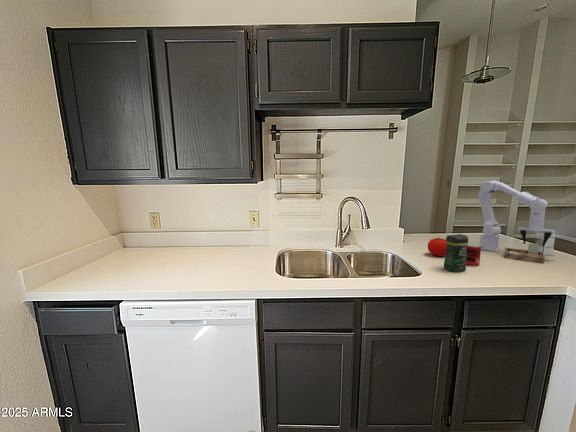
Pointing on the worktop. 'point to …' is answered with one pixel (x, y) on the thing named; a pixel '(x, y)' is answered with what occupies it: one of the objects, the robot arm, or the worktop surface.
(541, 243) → the syrup box
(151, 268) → the worktop surface
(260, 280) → the worktop surface
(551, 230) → the robot arm
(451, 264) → the coffee jar
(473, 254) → the canned food
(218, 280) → the worktop surface
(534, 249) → the grey-green block
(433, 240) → the tomato
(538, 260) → the socket board
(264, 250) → the worktop surface
